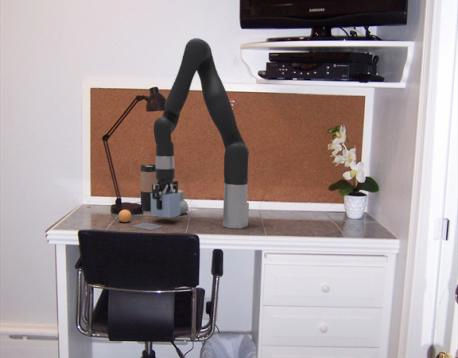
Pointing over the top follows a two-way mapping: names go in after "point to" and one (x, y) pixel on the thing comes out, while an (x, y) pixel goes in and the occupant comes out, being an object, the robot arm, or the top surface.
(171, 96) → the robot arm
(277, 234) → the top surface
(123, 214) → the ball
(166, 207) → the blue-grey block
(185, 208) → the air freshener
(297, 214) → the top surface
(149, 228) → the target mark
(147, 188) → the travel mug
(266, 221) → the top surface
